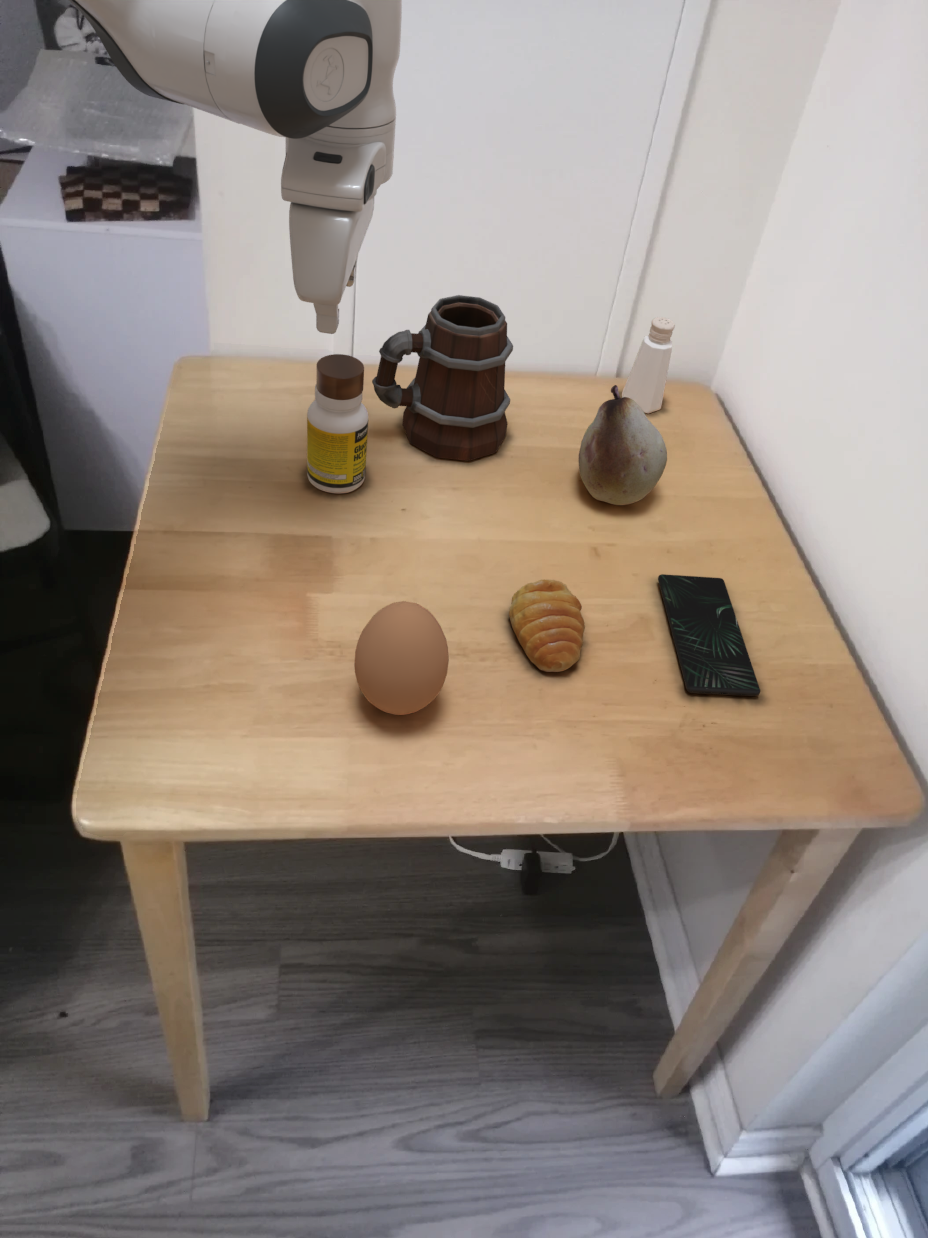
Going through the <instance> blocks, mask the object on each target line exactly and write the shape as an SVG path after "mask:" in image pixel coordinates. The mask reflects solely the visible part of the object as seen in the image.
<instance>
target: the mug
mask: <svg viewBox="0 0 928 1238" xmlns="http://www.w3.org/2000/svg"><path fill="white" fill-rule="evenodd" d="M426 317H427V318H426V321H425V325H423V327H422V328H421V329H420V330H419V331H418V333H412V332H411V330H410V329H405V330H402V331H398V332H396V333H394V334H392V335H391V336H389V337H388V338H387V339H386V340H385V341H384V342H383V344H382V345H381V347H380V348H379V350H378V352H379V355H380V359H379V363H378V368H377V372H376V376H375V377H374V378H373V379H372V380H371V383H372V386H373V390H374V393H375V394H376V396H377V397H378V399H379V401H380V402H382V403H383V404H385V405H386V406H387V407H390V408H392V409H399V407H405V408H404V411H403V413H402V428H403V430H404V433H405V435H406V437H407V439H408V441H409V444H410V445H412V446H414V447H416V448H418V449H420V450H422V451H423V452H425V453H427V454H429V455H431V456H433V457H435V458H439V459H449V460H458V461H468V462H470V461H474V460H476V459H480V458H482V457H487V456H490V455H492V454H496V453H497V451H498V450H499V448H500V446H501V445H502V443H503V442H504V441H505V438H506V437H507V436H506V435H507V430H508V420H507V416H506V411H507V410H508V408H509V406H510V404H511V398H510V396H509V394H508V393H507V391H506V389H505V385H506V384H505V383H506V382H505V381H506V361H507V360H508V358H509V357H510V356H511V354H512V352H513V351H514V344H513V343H512V341H511V339H510V338H509V336H508V322H507V321H506V315H505V314H504V312H503V311H502V309H501V308H500V306H499V305H497V304H496V303H494V302H491V301H489V300H487V299H485V298H483V297H480V296H479V297H478V296H470V295H463V294H457V295H452V296H448V297H446V296H445V297H442V298H439V299H438V300H437V302H436V303H435V304H434V305H433V306H432V307H431V308H430V311H429V312H428V314H427V316H426ZM413 353H415V354H417V356H418V357H419V358H418V363H417V368H416V372H415V376H414V378H413V379H412V381H410V383H409V384H408V385H407V386H406V388H404V387H402V386H401V385H400V384H397V381H396V379H395V378H396V375H397V369H398V365H399V364H400V363H401V362H402V361H403V359H404V356H411V355H412V354H413Z"/></svg>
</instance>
